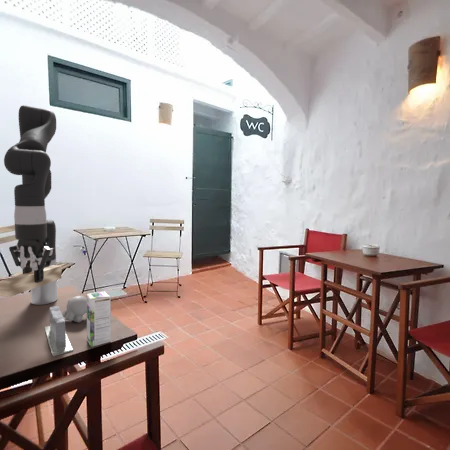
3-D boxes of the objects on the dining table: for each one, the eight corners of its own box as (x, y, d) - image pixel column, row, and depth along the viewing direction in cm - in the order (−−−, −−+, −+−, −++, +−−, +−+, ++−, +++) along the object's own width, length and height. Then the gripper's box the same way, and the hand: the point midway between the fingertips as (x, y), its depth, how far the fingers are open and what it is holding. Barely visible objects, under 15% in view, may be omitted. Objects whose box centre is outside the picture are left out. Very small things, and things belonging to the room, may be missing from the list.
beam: (53, 277, 94) (52, 264, 93) (61, 278, 93) (61, 265, 92) (-1, 296, 76) (-2, 280, 76) (9, 297, 75) (8, 281, 75)
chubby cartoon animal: (98, 326, 104) (108, 303, 105) (63, 322, 96) (73, 297, 98) (93, 319, 110) (101, 297, 111) (59, 314, 102) (69, 291, 103)
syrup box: (86, 339, 89) (85, 293, 88) (106, 334, 93) (105, 290, 91) (90, 347, 85) (89, 299, 83) (111, 341, 88) (111, 295, 87)
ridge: (44, 328, 96) (43, 305, 95) (61, 324, 99) (61, 301, 98) (52, 356, 80) (51, 328, 79) (72, 350, 83) (72, 323, 82)
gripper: (62, 222, 85) (64, 280, 86) (21, 219, 88) (24, 275, 89) (41, 224, 77) (43, 287, 79) (-3, 221, 80) (1, 283, 82)
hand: (33, 281), depth 84 cm, fingers closed on beam, 3 cm apart
